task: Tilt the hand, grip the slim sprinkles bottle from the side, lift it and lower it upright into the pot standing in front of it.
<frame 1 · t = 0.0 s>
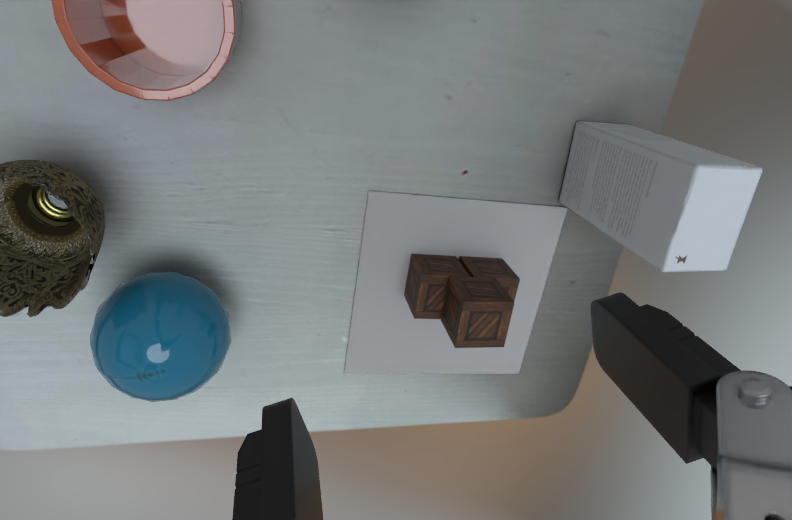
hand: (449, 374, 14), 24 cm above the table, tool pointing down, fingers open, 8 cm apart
cosmetic box: (591, 161, 39), on the table
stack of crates: (451, 291, 41), on the table
cup: (63, 195, 33), on the table
ball: (174, 301, 37), on the table
pot: (169, 10, 29), on the table
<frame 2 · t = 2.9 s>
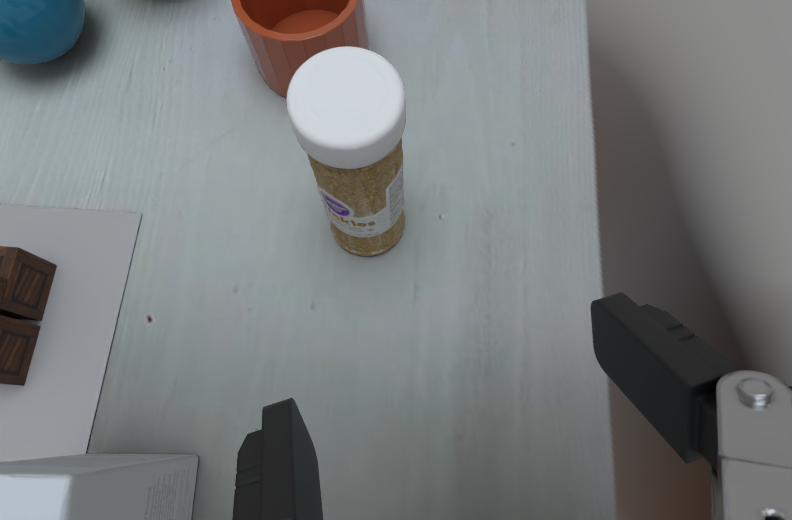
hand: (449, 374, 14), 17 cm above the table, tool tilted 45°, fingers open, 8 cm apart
cosmetic box: (143, 495, 29), on the table
sprinkles bottle: (369, 224, 33), on the table
ball: (54, 43, 38), on the table
pot: (313, 54, 37), on the table
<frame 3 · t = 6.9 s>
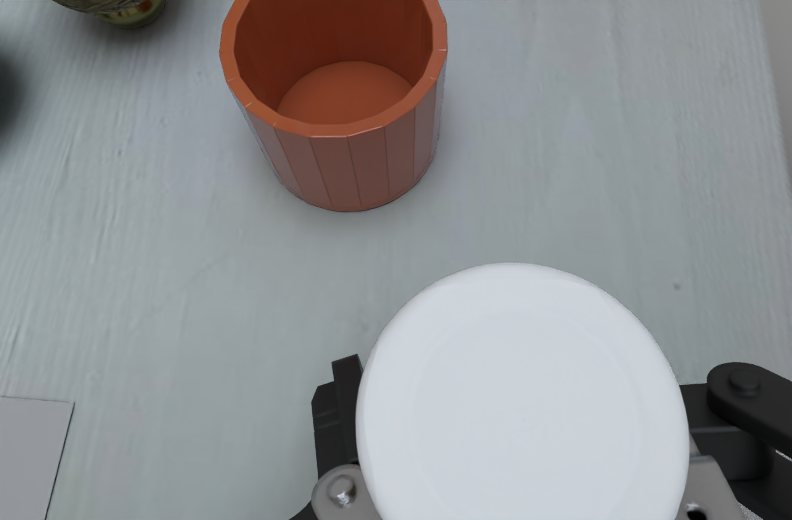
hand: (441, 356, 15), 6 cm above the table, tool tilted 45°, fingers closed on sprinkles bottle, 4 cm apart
sprinkles bottle: (448, 427, 20), on the table, touching gripper
cup: (137, 7, 26), on the table
pot: (351, 132, 24), on the table
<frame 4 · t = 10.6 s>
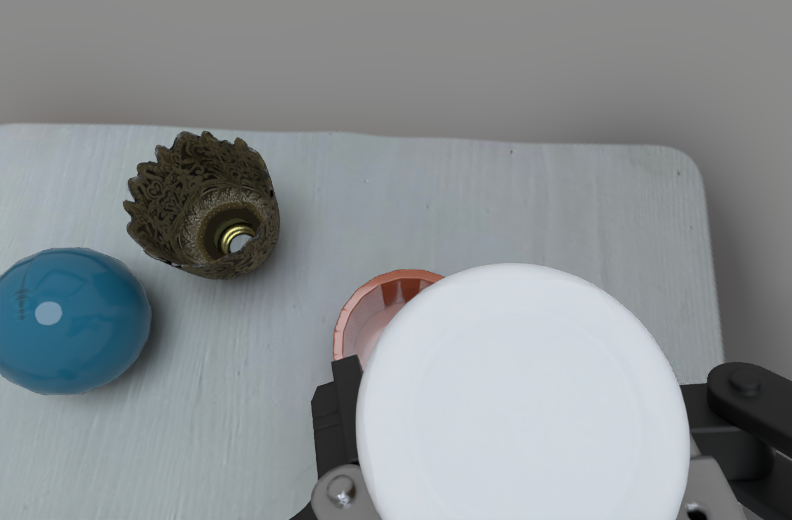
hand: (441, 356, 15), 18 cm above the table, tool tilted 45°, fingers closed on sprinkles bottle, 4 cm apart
sprinkles bottle: (449, 427, 20), point 11 cm above the table, touching gripper
cup: (243, 247, 35), on the table
ball: (111, 333, 33), on the table
pot: (409, 358, 32), on the table
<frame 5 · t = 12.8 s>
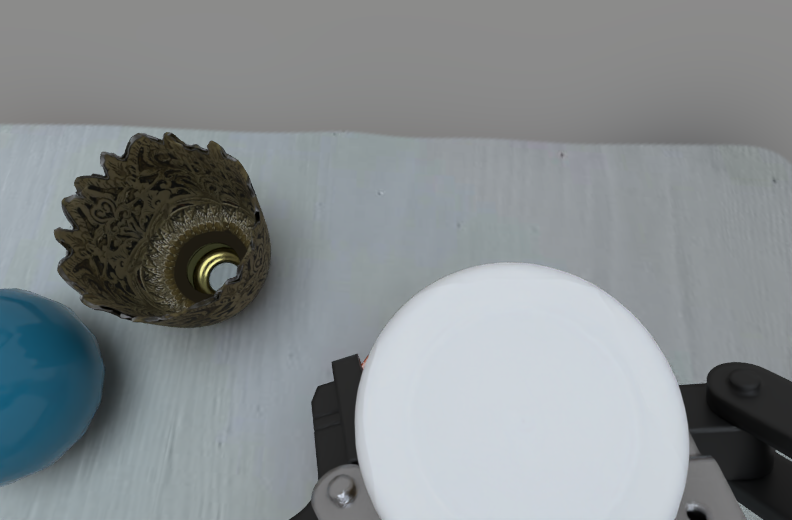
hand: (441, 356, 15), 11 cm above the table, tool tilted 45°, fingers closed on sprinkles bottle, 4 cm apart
sprinkles bottle: (448, 427, 20), point 5 cm above the table, touching gripper
cup: (226, 278, 27), on the table
ball: (58, 391, 26), on the table
when the fingers open (7 cm above the table, at t = 14.8 s): sprinkles bottle stays where it is, resting on pot.
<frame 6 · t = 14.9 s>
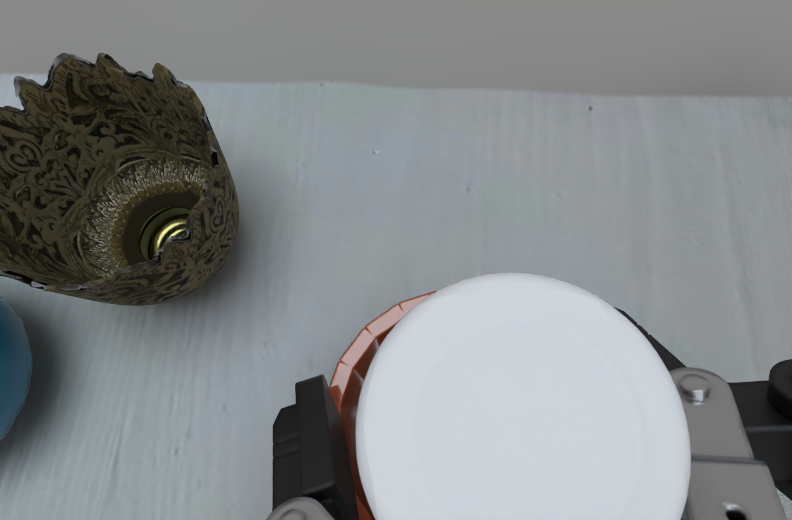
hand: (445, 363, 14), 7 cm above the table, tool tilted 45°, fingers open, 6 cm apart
sprinkles bottle: (448, 431, 20), resting on pot
cup: (190, 252, 23), on the table
pot: (446, 427, 20), on the table
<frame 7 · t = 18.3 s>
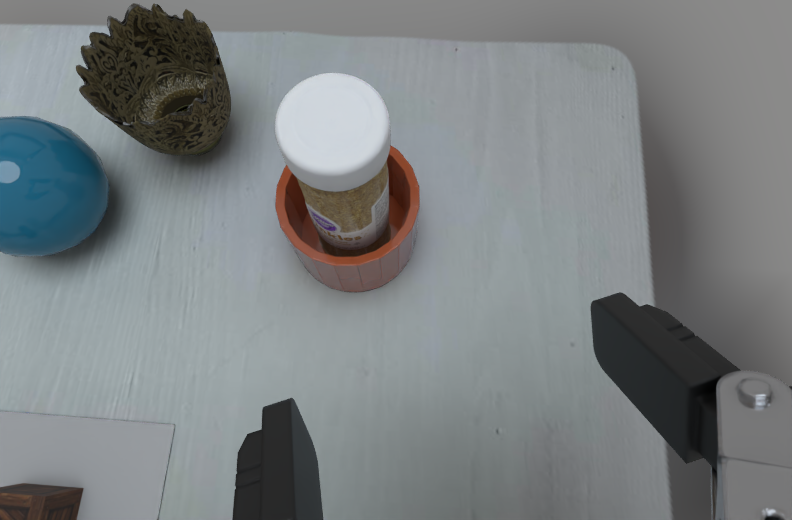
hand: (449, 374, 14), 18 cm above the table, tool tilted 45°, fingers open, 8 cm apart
sprinkles bottle: (356, 234, 34), resting on pot
cup: (200, 136, 36), on the table
ball: (73, 214, 35), on the table
pot: (355, 234, 34), on the table
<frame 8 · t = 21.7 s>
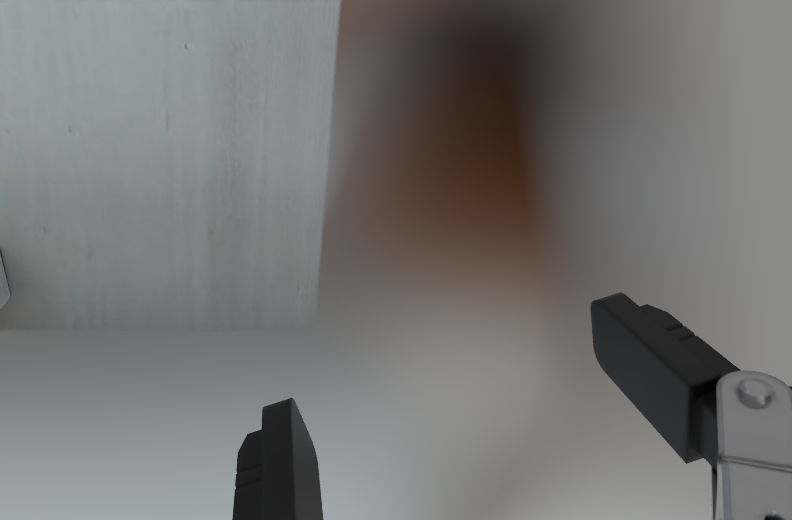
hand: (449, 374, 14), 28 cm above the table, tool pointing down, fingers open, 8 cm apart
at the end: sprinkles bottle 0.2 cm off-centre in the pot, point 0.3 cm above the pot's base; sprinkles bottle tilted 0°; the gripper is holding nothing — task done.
